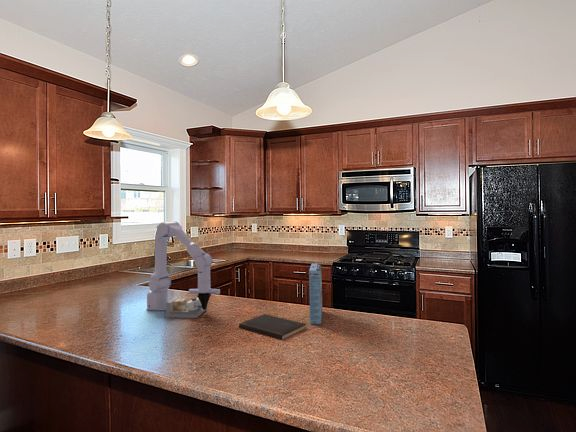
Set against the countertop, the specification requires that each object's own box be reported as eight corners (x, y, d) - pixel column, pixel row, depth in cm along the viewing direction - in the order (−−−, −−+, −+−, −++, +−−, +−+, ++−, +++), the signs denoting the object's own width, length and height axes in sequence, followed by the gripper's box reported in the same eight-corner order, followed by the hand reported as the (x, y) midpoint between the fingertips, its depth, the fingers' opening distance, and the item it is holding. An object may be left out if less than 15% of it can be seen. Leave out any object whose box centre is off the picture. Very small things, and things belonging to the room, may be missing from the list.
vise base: (165, 317, 159) (164, 303, 159) (176, 309, 171) (175, 296, 171) (196, 318, 158) (196, 303, 158) (205, 310, 170) (205, 297, 170)
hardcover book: (264, 319, 157) (264, 313, 157) (306, 329, 143) (306, 323, 143) (238, 328, 144) (238, 323, 144) (281, 341, 130) (281, 335, 130)
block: (174, 311, 163) (174, 301, 162) (178, 308, 167) (178, 298, 167) (182, 312, 162) (182, 301, 162) (186, 309, 167) (186, 298, 167)
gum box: (321, 324, 147) (320, 270, 146) (308, 324, 147) (308, 270, 147) (322, 311, 166) (322, 263, 165) (311, 310, 167) (311, 263, 166)
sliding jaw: (187, 312, 160) (187, 300, 160) (194, 307, 169) (194, 295, 169) (193, 313, 160) (193, 300, 159) (200, 307, 168) (200, 295, 168)
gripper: (185, 281, 160) (186, 311, 160) (216, 282, 159) (217, 311, 159) (191, 278, 167) (192, 306, 167) (221, 279, 166) (221, 307, 166)
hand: (204, 309), depth 164 cm, fingers closed
